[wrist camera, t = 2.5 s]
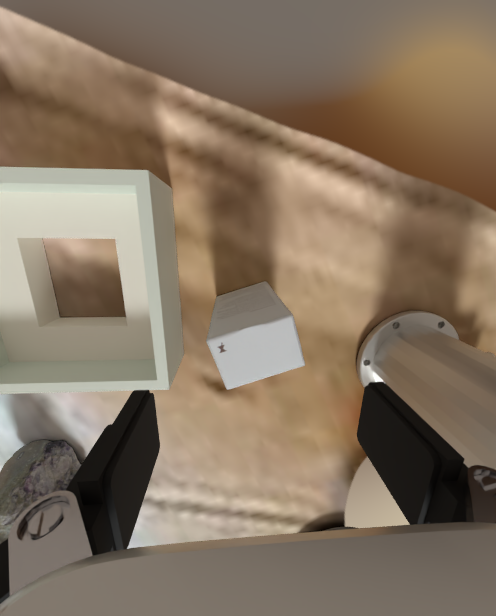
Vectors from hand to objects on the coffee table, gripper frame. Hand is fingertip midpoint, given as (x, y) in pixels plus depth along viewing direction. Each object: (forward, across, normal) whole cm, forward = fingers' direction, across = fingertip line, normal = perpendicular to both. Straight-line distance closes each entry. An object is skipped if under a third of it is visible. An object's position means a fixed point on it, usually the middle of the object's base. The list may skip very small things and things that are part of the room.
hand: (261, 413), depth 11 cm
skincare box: (+18, -1, 0) cm, 18 cm away
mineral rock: (+18, +25, +24) cm, 39 cm away
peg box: (+18, +16, -3) cm, 24 cm away
